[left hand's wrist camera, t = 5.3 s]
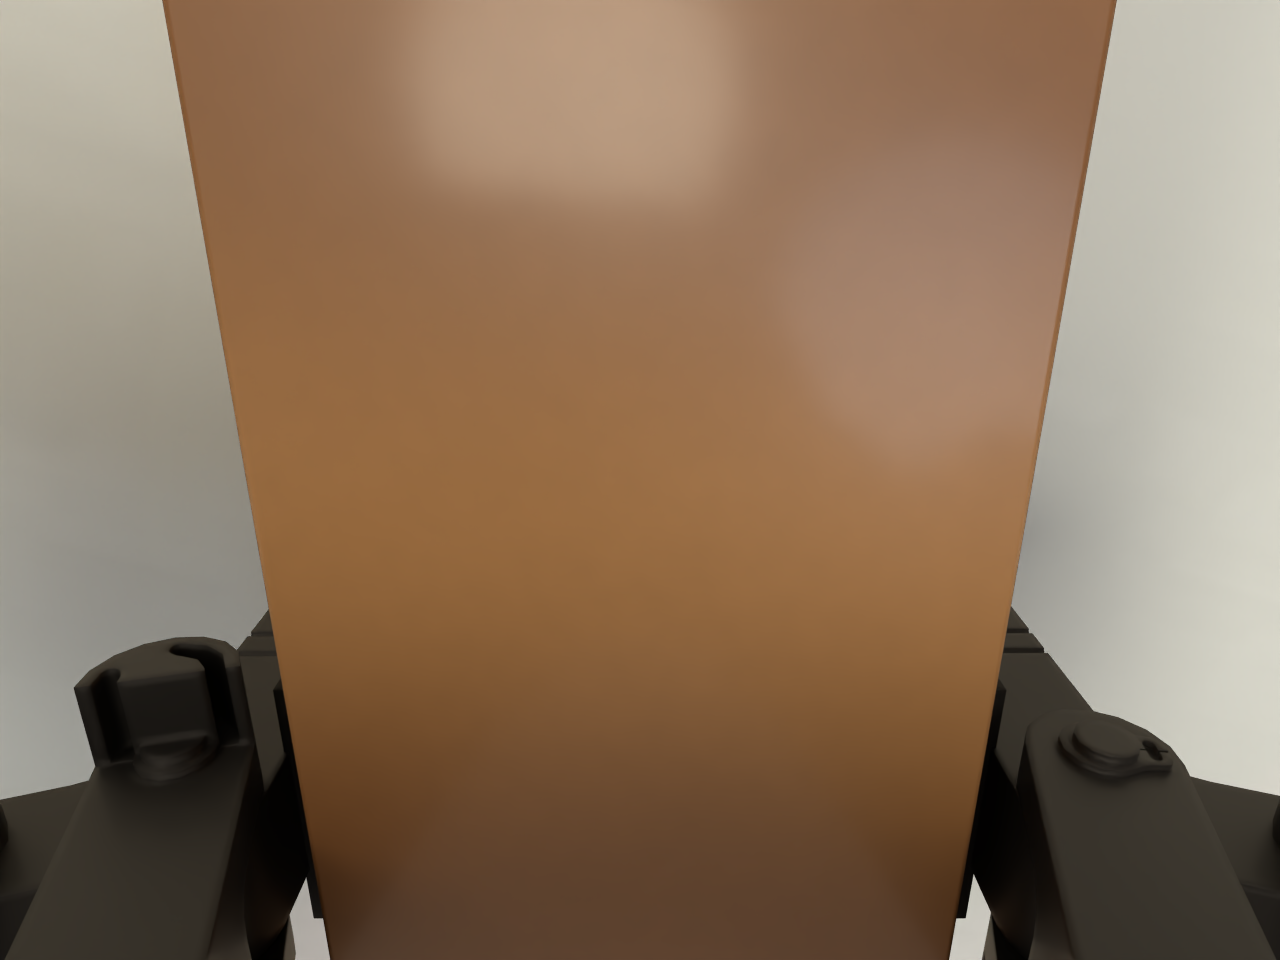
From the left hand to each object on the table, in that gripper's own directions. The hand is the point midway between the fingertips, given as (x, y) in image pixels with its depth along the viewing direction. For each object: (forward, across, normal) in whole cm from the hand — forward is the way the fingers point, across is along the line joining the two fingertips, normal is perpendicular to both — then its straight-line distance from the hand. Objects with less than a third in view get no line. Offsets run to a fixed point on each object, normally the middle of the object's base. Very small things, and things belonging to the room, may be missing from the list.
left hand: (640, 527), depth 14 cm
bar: (+1, 0, -33) cm, 33 cm away
